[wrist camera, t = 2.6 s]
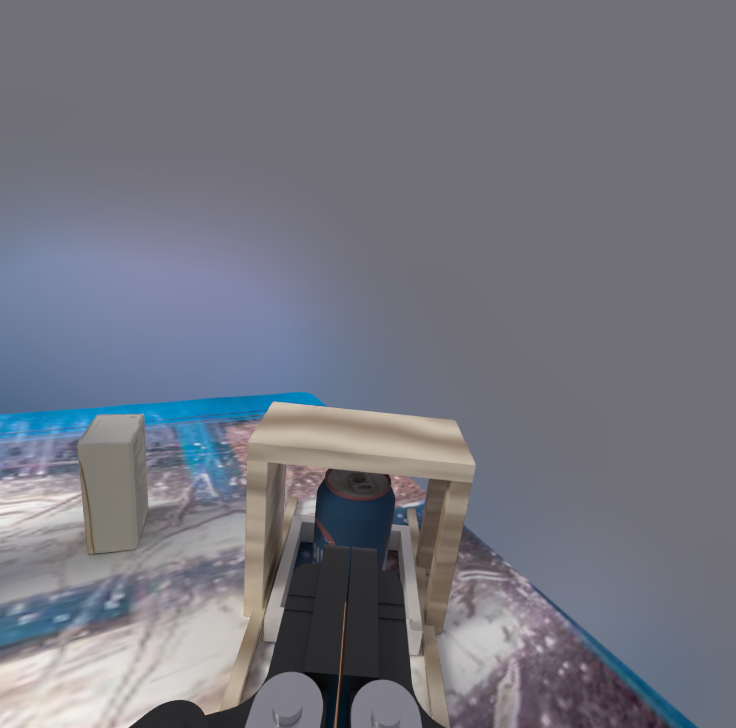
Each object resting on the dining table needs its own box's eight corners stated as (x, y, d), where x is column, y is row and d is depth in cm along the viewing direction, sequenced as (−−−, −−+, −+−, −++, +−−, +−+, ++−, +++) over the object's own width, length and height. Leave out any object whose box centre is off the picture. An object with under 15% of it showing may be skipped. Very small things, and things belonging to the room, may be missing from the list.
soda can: (300, 568, 40) (308, 461, 37) (364, 553, 43) (377, 453, 40) (322, 629, 34) (333, 508, 31) (394, 607, 37) (412, 494, 34)
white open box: (442, 877, 21) (489, 699, 18) (203, 858, 21) (200, 673, 17) (406, 544, 45) (423, 438, 41) (292, 533, 45) (299, 426, 41)
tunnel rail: (555, 1295, 13) (747, 1054, 8) (19, 1261, 13) (-97, 991, 8) (420, 514, 50) (441, 390, 46) (283, 501, 50) (290, 374, 45)
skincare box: (105, 515, 45) (96, 413, 41) (150, 511, 46) (145, 412, 43) (86, 557, 39) (73, 443, 35) (138, 551, 40) (131, 441, 37)
